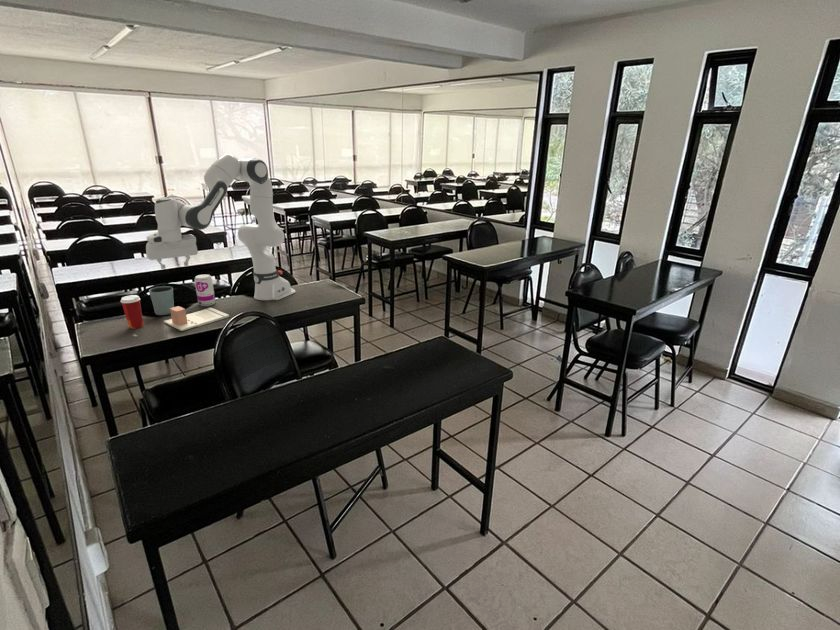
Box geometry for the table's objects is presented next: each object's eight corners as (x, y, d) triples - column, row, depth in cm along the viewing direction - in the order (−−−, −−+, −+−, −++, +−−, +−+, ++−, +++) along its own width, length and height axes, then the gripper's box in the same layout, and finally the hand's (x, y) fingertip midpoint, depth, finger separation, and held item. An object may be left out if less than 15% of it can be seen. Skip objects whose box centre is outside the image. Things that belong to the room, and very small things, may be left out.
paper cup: (149, 323, 214) (143, 295, 208) (138, 330, 206) (132, 300, 201) (134, 322, 214) (127, 294, 209) (122, 329, 207) (115, 299, 202)
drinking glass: (148, 314, 224) (143, 290, 220) (165, 307, 233) (161, 284, 229) (165, 316, 222) (160, 293, 217) (181, 309, 230) (177, 287, 226)
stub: (179, 318, 219) (176, 302, 216) (196, 326, 210) (194, 310, 208) (164, 322, 214) (161, 306, 211) (181, 331, 205) (178, 314, 202)
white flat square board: (211, 309, 232) (210, 307, 231) (229, 316, 223) (229, 314, 222) (179, 318, 220) (179, 316, 219) (197, 326, 211) (197, 324, 210)
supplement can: (211, 306, 235) (207, 278, 230) (195, 306, 235) (190, 278, 230) (218, 301, 243) (214, 274, 237) (203, 301, 243) (198, 273, 237)
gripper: (192, 232, 209) (196, 262, 214) (142, 237, 196) (147, 268, 201) (197, 234, 205) (201, 265, 210) (146, 239, 192) (151, 271, 196)
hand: (175, 267), depth 205 cm, fingers open, 8 cm apart
